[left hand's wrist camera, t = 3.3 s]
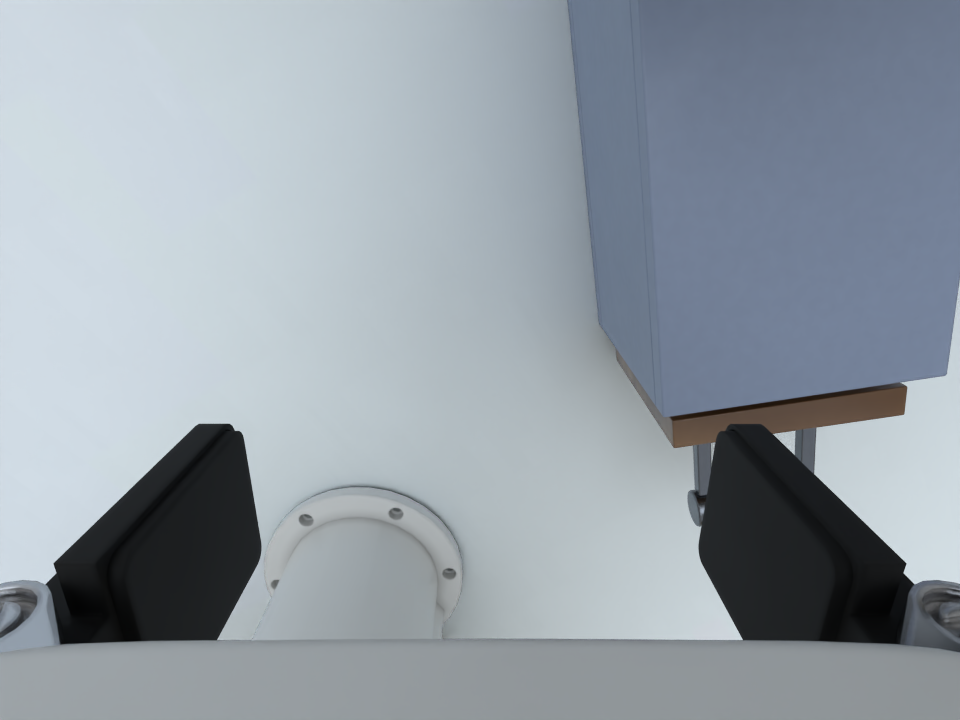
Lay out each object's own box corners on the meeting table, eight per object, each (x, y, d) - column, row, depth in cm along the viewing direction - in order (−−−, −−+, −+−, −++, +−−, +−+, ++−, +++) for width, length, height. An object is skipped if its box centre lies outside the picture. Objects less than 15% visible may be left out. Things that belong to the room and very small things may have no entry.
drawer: (775, 432, 32) (890, 542, 23) (624, 454, 33) (680, 570, 24) (786, -91, 23) (977, -241, 14) (580, -50, 24) (641, -170, 15)
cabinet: (780, 295, 30) (947, 376, 19) (599, 324, 31) (663, 418, 20) (790, -175, 23) (1061, -458, 12) (555, -126, 24) (617, -355, 13)
